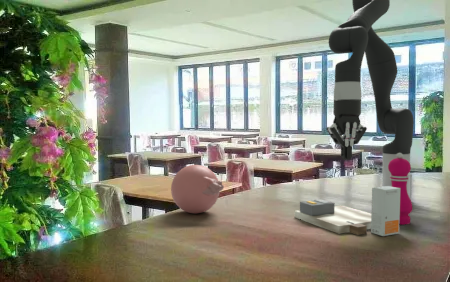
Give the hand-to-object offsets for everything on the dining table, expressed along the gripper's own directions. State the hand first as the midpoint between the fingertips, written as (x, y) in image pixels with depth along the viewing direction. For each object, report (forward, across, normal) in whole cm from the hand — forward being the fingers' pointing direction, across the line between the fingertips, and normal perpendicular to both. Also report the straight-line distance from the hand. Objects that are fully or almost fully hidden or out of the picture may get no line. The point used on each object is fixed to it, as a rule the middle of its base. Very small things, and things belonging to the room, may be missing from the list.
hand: (346, 159), depth 120 cm
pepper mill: (+18, -14, +6) cm, 24 cm away
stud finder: (+16, +5, -6) cm, 18 cm away
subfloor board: (+18, +1, 0) cm, 18 cm away
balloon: (+19, +35, -27) cm, 48 cm away
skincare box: (+18, -2, +14) cm, 23 cm away
